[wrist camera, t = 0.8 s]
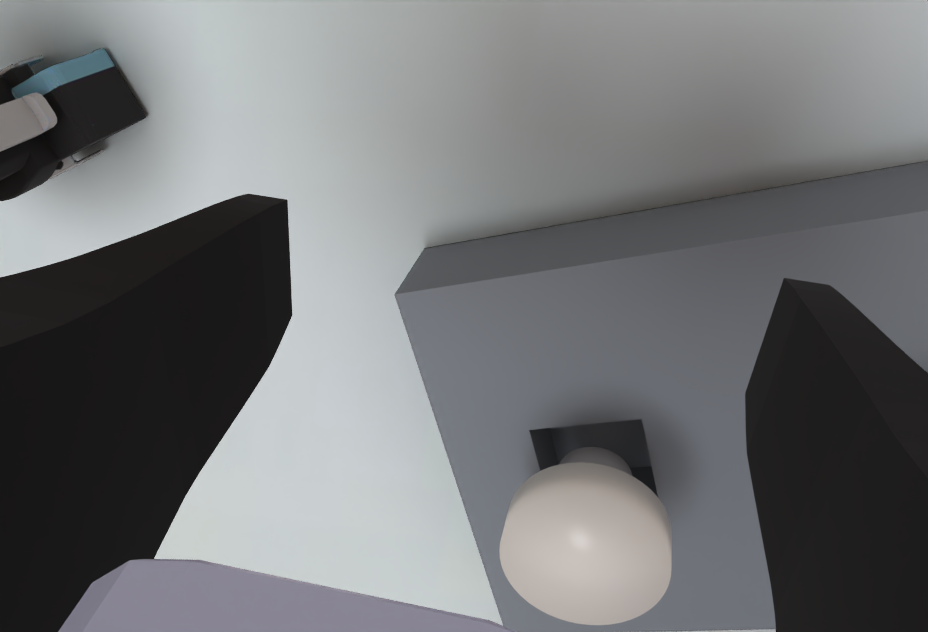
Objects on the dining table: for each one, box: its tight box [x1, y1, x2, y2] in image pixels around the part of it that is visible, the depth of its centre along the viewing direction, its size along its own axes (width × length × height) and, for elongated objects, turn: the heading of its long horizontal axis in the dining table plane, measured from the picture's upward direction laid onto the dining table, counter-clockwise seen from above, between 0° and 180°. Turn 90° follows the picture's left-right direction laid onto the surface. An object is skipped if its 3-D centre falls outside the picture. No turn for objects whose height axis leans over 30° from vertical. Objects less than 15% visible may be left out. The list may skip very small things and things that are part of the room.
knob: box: [499, 447, 672, 625], centre depth 21 cm, size 4×4×3 cm
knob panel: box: [395, 161, 928, 632], centre depth 22 cm, size 12×24×3 cm, turn 105°
